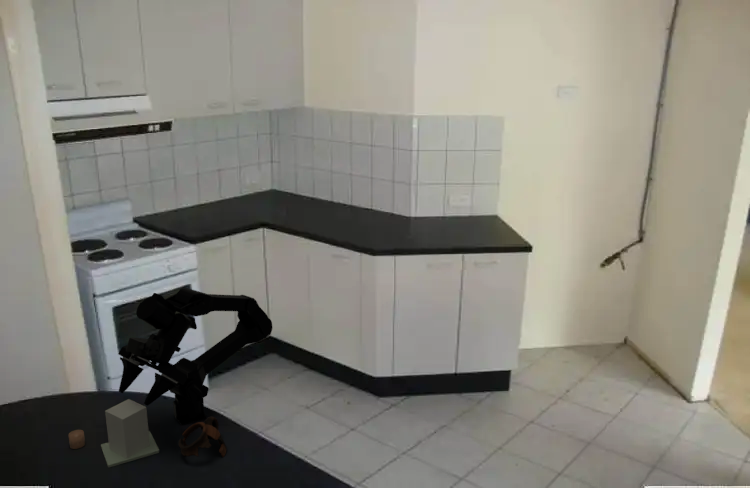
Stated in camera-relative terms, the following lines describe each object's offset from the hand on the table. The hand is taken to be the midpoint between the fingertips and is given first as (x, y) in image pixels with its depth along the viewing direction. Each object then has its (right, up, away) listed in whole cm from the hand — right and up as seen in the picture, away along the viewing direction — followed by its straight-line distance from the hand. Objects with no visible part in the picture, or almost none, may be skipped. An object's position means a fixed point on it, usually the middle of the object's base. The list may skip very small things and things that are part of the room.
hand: (132, 398), depth 144 cm
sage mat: (-1, -12, +2) cm, 12 cm away
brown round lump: (-14, -12, +3) cm, 19 cm away
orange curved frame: (+16, -13, +2) cm, 21 cm away
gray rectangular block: (-1, -12, +2) cm, 12 cm away
